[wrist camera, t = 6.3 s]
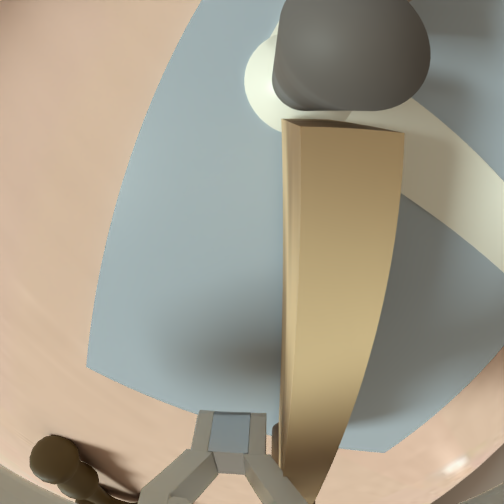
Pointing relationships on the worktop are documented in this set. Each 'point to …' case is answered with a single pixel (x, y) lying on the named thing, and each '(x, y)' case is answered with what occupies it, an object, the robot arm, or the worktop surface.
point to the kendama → (68, 471)
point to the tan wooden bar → (336, 210)
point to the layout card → (271, 227)
